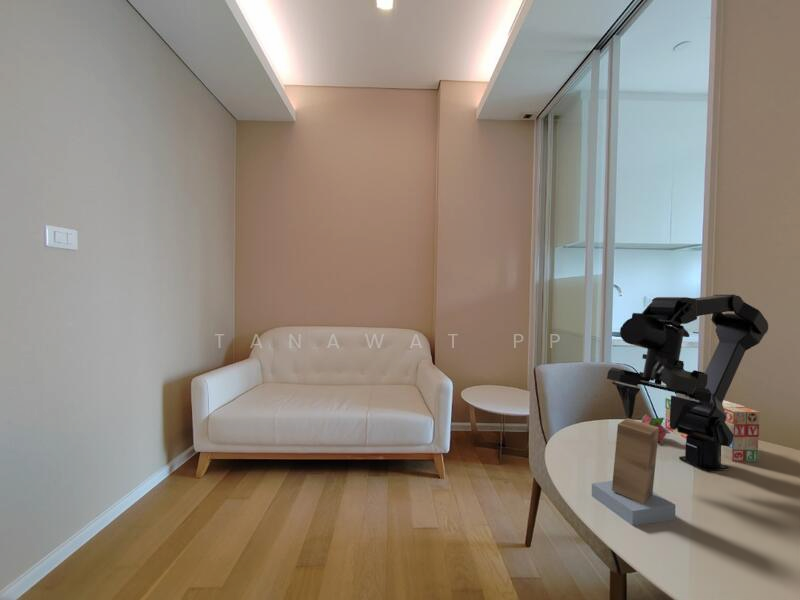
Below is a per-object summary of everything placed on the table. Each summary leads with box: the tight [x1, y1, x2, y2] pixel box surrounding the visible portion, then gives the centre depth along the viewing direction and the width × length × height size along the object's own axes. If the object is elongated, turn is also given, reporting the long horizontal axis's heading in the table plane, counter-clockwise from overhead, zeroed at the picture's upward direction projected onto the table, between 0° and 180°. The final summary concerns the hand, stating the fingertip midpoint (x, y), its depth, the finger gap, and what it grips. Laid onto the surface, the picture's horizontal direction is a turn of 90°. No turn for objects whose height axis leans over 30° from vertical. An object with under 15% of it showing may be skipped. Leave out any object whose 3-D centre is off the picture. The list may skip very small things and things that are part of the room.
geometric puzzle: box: [640, 413, 671, 444], centre depth 95 cm, size 7×7×8 cm
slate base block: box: [591, 480, 676, 527], centre depth 64 cm, size 9×9×3 cm
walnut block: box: [612, 417, 659, 505], centre depth 64 cm, size 5×5×12 cm
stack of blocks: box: [664, 397, 760, 463], centre depth 94 cm, size 21×6×12 cm, turn 0°
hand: (650, 423), depth 76 cm, fingers open, 9 cm apart
